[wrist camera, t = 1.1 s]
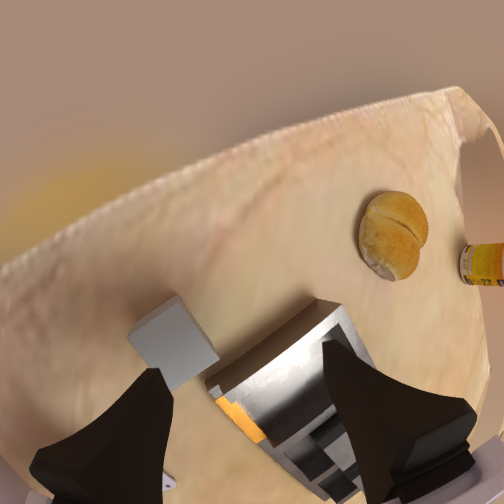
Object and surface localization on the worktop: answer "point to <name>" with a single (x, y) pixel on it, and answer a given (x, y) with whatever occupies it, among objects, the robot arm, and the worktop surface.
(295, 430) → the rack
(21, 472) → the worktop surface
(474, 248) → the supplement bottle
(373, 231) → the bread roll
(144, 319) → the grey block
